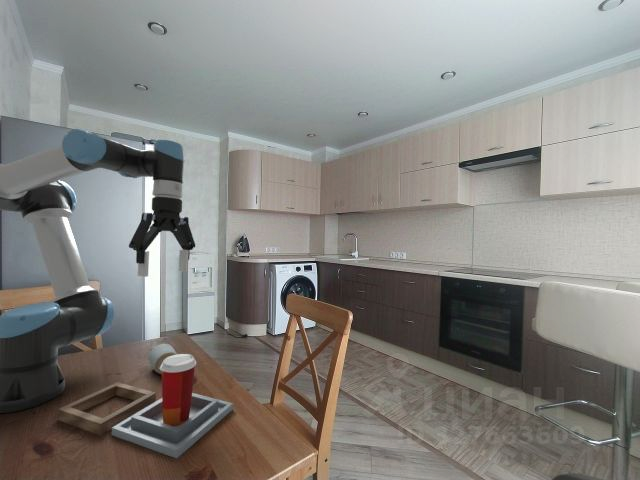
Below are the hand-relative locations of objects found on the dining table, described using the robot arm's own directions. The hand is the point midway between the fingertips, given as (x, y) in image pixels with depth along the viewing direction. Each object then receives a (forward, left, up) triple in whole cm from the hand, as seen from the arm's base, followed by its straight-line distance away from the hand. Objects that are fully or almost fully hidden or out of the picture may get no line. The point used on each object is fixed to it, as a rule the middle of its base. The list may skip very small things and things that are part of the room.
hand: (164, 273), depth 83 cm
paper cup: (+15, -9, -32) cm, 37 cm away
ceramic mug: (-8, +11, -33) cm, 36 cm away
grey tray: (+15, -9, -33) cm, 37 cm away
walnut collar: (-3, -12, -33) cm, 35 cm away
